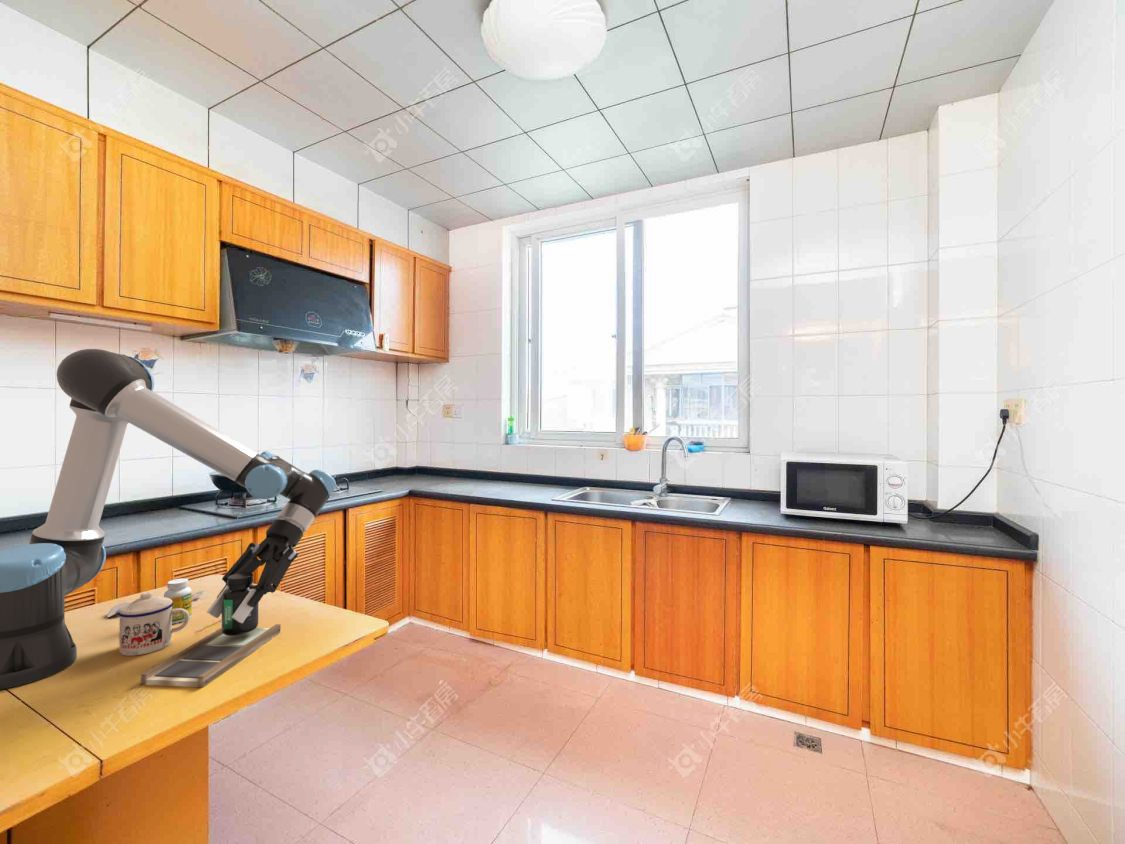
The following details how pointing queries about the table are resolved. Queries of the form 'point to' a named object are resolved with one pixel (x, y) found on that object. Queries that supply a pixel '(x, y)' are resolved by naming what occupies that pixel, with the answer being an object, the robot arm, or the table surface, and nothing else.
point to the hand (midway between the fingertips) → (224, 617)
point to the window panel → (207, 658)
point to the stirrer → (117, 607)
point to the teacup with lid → (147, 624)
